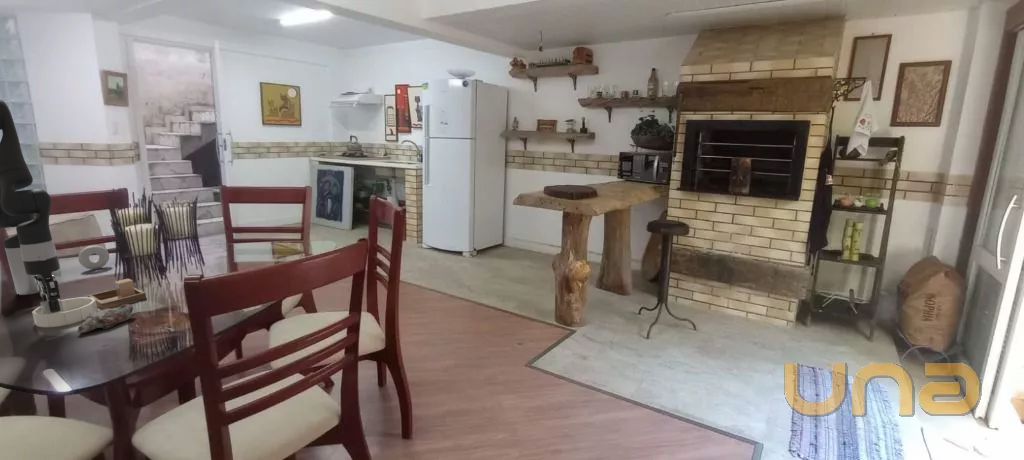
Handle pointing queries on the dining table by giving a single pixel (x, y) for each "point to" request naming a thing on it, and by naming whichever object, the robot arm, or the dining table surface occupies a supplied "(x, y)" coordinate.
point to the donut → (90, 250)
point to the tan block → (124, 288)
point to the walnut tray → (116, 298)
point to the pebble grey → (47, 310)
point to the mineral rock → (106, 318)
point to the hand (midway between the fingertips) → (53, 309)
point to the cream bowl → (66, 312)
